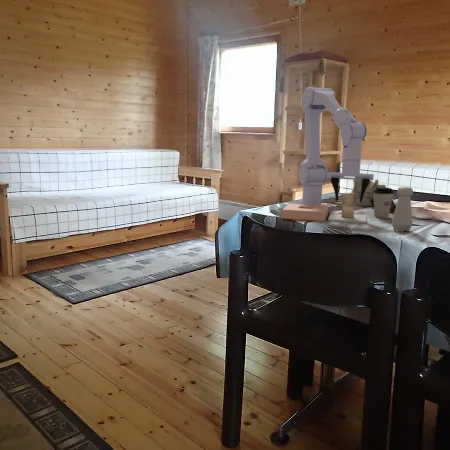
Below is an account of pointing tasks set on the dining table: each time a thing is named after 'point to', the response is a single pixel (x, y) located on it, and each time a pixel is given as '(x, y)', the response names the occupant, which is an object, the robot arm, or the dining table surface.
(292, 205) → the square board with hole
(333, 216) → the mat
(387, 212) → the coffee cup
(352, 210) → the plug
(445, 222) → the dining table surface
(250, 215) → the dining table surface
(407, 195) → the salt shaker
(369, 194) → the ceramic cottage
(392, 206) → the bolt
